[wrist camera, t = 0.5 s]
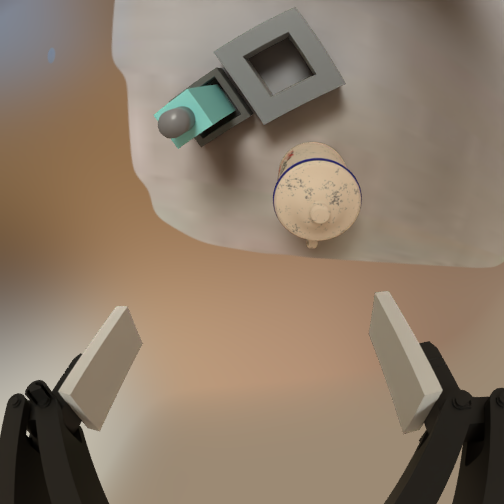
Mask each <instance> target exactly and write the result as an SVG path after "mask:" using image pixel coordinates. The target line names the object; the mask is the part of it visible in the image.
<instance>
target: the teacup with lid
mask: <svg viewBox="0 0 504 504" xmlns="http://www.w3.org/2000/svg"><path fill="white" fill-rule="evenodd" d="M361 201H362V196H361V190H360V186H359V184H358V182H357V180H356V178H355V176H354V175H353V174H352V173H351V172H350V171H349V170H348V168H347V166H346V165H345V163H344V161H343V159H342V158H341V156H340V155H339V154H338V153H337V152H336V151H335V150H334V149H333V148H331V147H329V146H327V145H325V144H322V143H318V142H307V143H302V144H299V145H297V146H295V147H294V148H292V149H291V150H289V151H288V152H287V153H286V155H285V156H284V158H283V159H282V161H281V164H280V167H279V173H278V181H277V183H276V186H275V189H274V193H273V205H274V210H275V213H276V215H277V217H278V219H279V221H280V222H281V223H282V225H283V226H284V227H285V228H286V229H287V230H288V231H290V232H291V233H292V234H294V235H296V236H298V237H300V238H303V239H306V244H307V247H308V248H311V249H314V248H316V247H317V245H318V241H321V240H328V239H331V238H334V237H337V236H339V235H340V234H342V233H344V232H345V231H346V230H347V229H348V228H350V227H351V225H352V224H353V223H354V221H355V220H356V218H357V216H358V214H359V211H360V208H361Z"/></svg>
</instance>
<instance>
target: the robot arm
mask: <svg viewBox="0 0 504 504" xmlns="http://www.w3.org/2000/svg"><path fill="white" fill-rule="evenodd" d="M369 336H370V339H371V341H372V344H373V346H374V349H375V351H376V354H377V357H378V360H379V362H380V365H381V368H382V371H383V374H384V376H385V379H386V382H387V385H388V388H389V391H390V393H391V397H392V400H393V403H394V406H395V409H396V412H397V415H398V419H399V422H400V425H401V428H402V432H403V434H406V433H409V432H413V431H417V430H419V429H420V428H421V426H422V425H423V423H425V426H426V429H427V430H426V431H425V433H424V434H423V436H422V437H421V438H420V440H419V441H420V443H419V445H418V447H417V449H416V451H415V453H414V455H413V457H412V459H411V460H410V462H409V464H408V466H407V468H406V470H405V471H404V473H403V475H402V476H401V478H400V480H399V482H398V483H397V485H396V486H395V488H394V489H393V491H392V492H391V494H390V495H389V497H388V499H387V500H386V501H385V503H384V504H436V503H437V502H438V500H439V498H440V496H441V494H442V492H443V490H444V488H445V486H446V484H447V481H448V479H449V477H450V475H451V472H452V470H453V468H454V465H455V463H456V461H457V458H458V455H459V453H460V450H461V448H462V445H463V448H462V456H461V463H460V469H459V476H458V480H457V486H456V490H455V495H454V499H453V503H452V504H504V388H497V389H496V390H494V391H493V392H492V394H491V395H490V397H472V396H471V395H470V394H469V393H468V392H466V391H465V390H460V389H459V387H458V385H457V383H456V381H455V379H454V377H453V376H452V374H451V372H450V370H449V368H448V366H447V365H446V364H445V361H444V359H443V358H442V356H441V354H440V352H439V350H438V349H437V347H435V346H434V345H433V344H432V343H430V342H424V343H418V341H417V339H416V337H415V335H414V333H413V332H412V330H411V328H410V326H409V325H408V323H407V321H406V319H405V318H404V316H403V314H402V313H401V311H400V309H399V307H398V306H397V304H396V302H395V301H394V299H393V297H392V296H391V294H390V293H389V291H384V292H377V293H376V292H375V296H374V303H373V311H372V317H371V324H370V330H369ZM141 346H142V341H141V339H140V336H139V334H138V331H137V329H136V327H135V324H134V322H133V319H132V317H131V314H130V311H129V309H128V307H127V306H117V307H116V308H115V309H114V311H113V312H112V313H111V315H110V316H109V317H108V319H107V320H106V321H105V323H104V324H103V326H102V327H101V328H100V330H99V331H98V333H97V334H96V335H95V337H94V338H93V340H92V341H91V342H90V344H89V345H88V347H87V348H86V350H85V351H84V353H83V354H79V355H78V356H77V357H76V358H74V359H73V361H72V362H71V363H70V365H69V368H67V369H66V371H65V373H64V374H63V376H62V377H61V378H60V380H59V381H58V383H57V385H56V386H55V388H54V389H53V391H51V390H50V389H49V387H48V386H47V385H46V383H45V382H44V381H41V380H37V381H34V382H32V383H31V384H30V385H29V386H28V387H27V389H26V391H25V395H26V396H27V397H28V398H29V399H30V400H27V399H26V398H25V397H24V395H22V394H19V393H18V394H15V395H13V396H12V397H11V398H10V399H9V401H8V403H7V407H6V411H5V415H4V420H3V425H2V430H1V435H0V504H109V502H108V500H107V498H106V496H105V493H104V491H103V488H102V486H101V483H100V481H99V479H98V476H97V473H96V471H95V468H94V465H93V462H92V459H91V456H90V453H89V450H88V447H87V444H86V440H85V437H84V433H83V430H82V428H81V427H80V426H79V425H80V423H81V421H82V422H83V423H84V424H85V425H86V426H87V428H90V429H93V430H97V431H100V430H101V427H102V425H103V423H104V421H105V419H106V417H107V414H108V412H109V410H110V408H111V406H112V404H113V402H114V400H115V398H116V396H117V393H118V391H119V389H120V387H121V385H122V383H123V381H124V379H125V377H126V375H127V373H128V371H129V369H130V367H131V365H132V363H133V361H134V359H135V357H136V355H137V353H138V351H139V350H140V348H141ZM26 431H28V432H29V433H30V435H29V437H28V436H27V435H26Z"/></svg>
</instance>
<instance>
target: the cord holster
mask: <svg viewBox="0 0 504 504" xmlns="http://www.w3.org/2000/svg"><path fill="white" fill-rule="evenodd" d="M215 79H217V80H218V82H219V83H220V84H221V86H222V87H223V89H224V90H225V92H226V93H227V94H228V96H229V97H230V99H231V100H232V102H233V103H234V104H235V106H236V107H237V109H238V110H239V112H240V113H241V114H240V115H238V116H237V117H235V118H234V119H232V120H230V121H229V122H227V123H225V124H224V125H222V126H221V127H219V128H218V129H216V130H215V131H213V132H211V133H210V134H207V132H206V131H205V130H204V131H203V132H201V133H200V134H198V135H197V136H196V137H194V138H195V139H196V141H197V142H198V143H199V145H200V146H201V147H202V146H204V145H205V144H207V143H208V142H210V141H211V140H213V139H214V138H216V137H218V136H219V135H221V134H222V133H224V132H225V131H227V130H229V129H230V128H232V127H234V126H235V125H237V124H238V123H240V122H242V121H243V120H245V119H247V118H249V117H250V116H251V115H252V114H253V113H252V111H251V110H250V108H249V107H248V105H247V104H246V102H245V101H244V99H243V98H242V96H241V95H240V93H239V92H238V91H237V89H236V88H235V86H234V85H233V83H232V82H231V81H230V79H229V78H228V76H227V75H226V74H225V72H224V71H223V69H222V68H215V69H214V70H212V71H211V72H209V73H208V74H206V75H205V76H203V77H202V78H201V79H199V80H198V81H196V82H195V83H193V84H192V85H191V86H189V87H188V88H187V89H189V88H195V87H202V86H206V85H207V84H209V83H210V82H212V81H213V80H215ZM185 90H186V89H185ZM185 90H184V91H185ZM184 91H183V92H184ZM181 93H182V92H181ZM181 93H180V94H181ZM180 94H179V95H180ZM177 96H178V95H177ZM177 96H176V97H177ZM176 97H175V98H176ZM173 99H174V98H173ZM173 99H172V100H173ZM172 100H171V101H172ZM171 101H169V102H171Z"/></svg>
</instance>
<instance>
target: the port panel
mask: <svg viewBox="0 0 504 504" xmlns="http://www.w3.org/2000/svg"><path fill="white" fill-rule="evenodd" d="M288 37H289V38H290V40H291V41H292V43H293V44H294V46H295V47H296V48H297V50H298V51H299V53H300V54H301V56H302V57H303V59H304V60H305V62H306V63H307V65H308V67H309V68H310V70H311V71H312V73H313V75H312V76H310V77H308V78H306V79H304V80H302V81H300V82H298V83H296V84H294V85H292V86H290V87H288V88H286V89H284V90H282V91H281V92H279V93H277V94H275V95H272V93H271V91H270V90H269V88H268V87H267V85H266V84H265V82H264V81H263V80H262V78H261V77H260V75H259V74H258V72H257V71H256V69H255V68H254V67H253V65H252V64H251V62H250V61H249V58H250V57H252V56H254V55H256V54H258V53H259V52H261V51H263V50H265V49H267V48H268V47H270V46H272V45H274V44H276V43H278V42H280V41H282V40H284V39H286V38H288ZM214 54H215V55H216V56H217V58H218V59H219V61H220V62H221V63H222V65H223V66H224V67H225V69H226V70H227V72H228V73H229V74H230V76H231V77H232V78H233V80H234V81H235V83H236V84H237V86H238V87H239V88H240V90H241V91H242V93H243V94H244V96H245V97H246V99H247V100H248V102H249V103H250V105H251V106H252V107H253V109H254V110H255V112H256V114H257V115H258V117H259V118H260V120H261V121H262V123H263V124H264V125H265V124H267V123H268V122H270V121H272V120H274V119H276V118H278V117H279V116H281V115H283V114H285V113H287V112H289V111H291V110H293V109H295V108H297V107H299V106H301V105H302V104H304V103H306V102H308V101H310V100H313V99H315V98H317V97H319V96H321V95H323V94H325V93H327V92H329V91H331V90H334V89H336V88H338V87H340V86H342V85H345V84H346V83H345V81H344V80H343V78H342V76H341V74H340V73H339V71H338V69H337V68H336V66H335V64H334V63H333V61H332V59H331V58H330V56H329V55H328V53H327V51H326V50H325V48H324V47H323V45H322V44H321V42H320V41H319V39H318V38H317V36H316V35H315V33H314V32H313V30H312V29H311V28H310V26H309V25H308V23H307V22H306V21H305V19H304V18H303V17H302V15H301V14H300V13H299V11H298V10H297V9H296V7H294V8H292V9H290V10H288V11H285V12H283V13H281V14H279V15H277V16H275V17H273V18H271V19H269V20H267V21H265V22H263V23H261V24H260V25H258V26H256V27H254V28H252V29H250V30H249V31H247V32H245V33H243V34H242V35H240V36H238V37H237V38H235V39H233V40H232V41H230V42H228V43H227V44H225V45H223V46H222V47H220V48H219V49H217V50H216V51H214Z"/></svg>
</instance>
